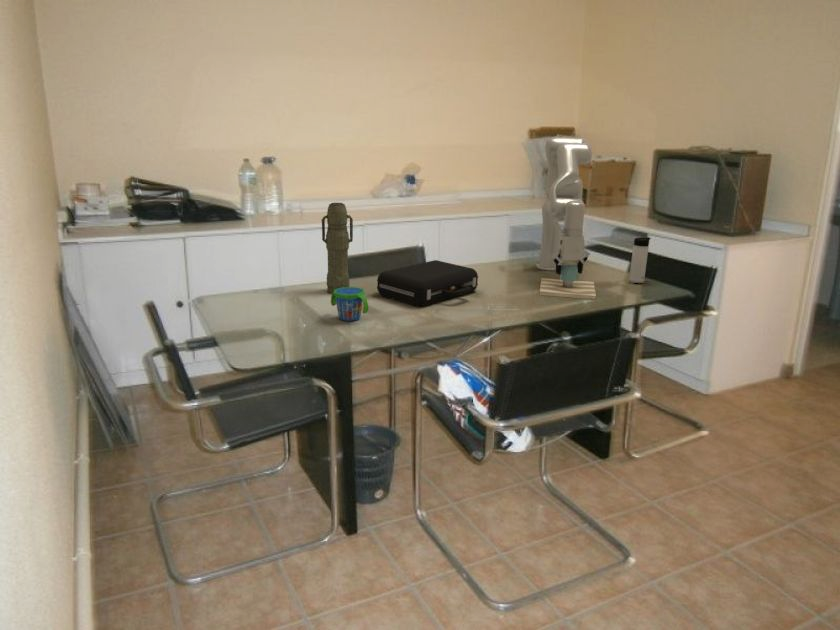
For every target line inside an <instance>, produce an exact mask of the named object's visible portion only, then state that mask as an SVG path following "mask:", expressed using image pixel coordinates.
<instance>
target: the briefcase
mask: <svg viewBox="0 0 840 630" xmlns="http://www.w3.org/2000/svg"><path fill="white" fill-rule="evenodd" d="M478 275H479V274H478V273H477V270H475V269H474V268H472V267H471V268H470V267H468V266H462V265H459V264H456V263H455V264H454V263H451V262H450V263H449V262H447V261H442V260H436V259H435V260H431V261H424V262H421V263H416V264H411V265H408V266H403V267H400V268H399V267H398V268H395V269H390V270H389V269H388V270H385V271H382V272H381V273H379V274H378V276H377V280H376V282H377V286H376V289H377V293H379V295H380V296H382V297H384V298H388V299H391V300H395V301H399V302H400V303H401V302H402V303H405V304H409V305H412V306H414V307H418V308H419V307H421V308H422V307H425V306H429V305H432V304H435V303H439V302H442V301H446V300H449V299H453V298H456V297H460V296H463V295H466V294H467V295H468V294H469V293H472V292H474V291H475V290H476V289H477V288H478V285H479V284H478V279H479V276H478Z"/></svg>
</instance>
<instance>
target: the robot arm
mask: <svg viewBox="0 0 840 630" xmlns="http://www.w3.org/2000/svg"><path fill="white" fill-rule="evenodd" d="M544 146H545V147H544V148H545V149H544V151H545V157H546V160H547V161H546V162H547V165H548V166H547V167H548V168H547V180H546V181H547V183H546V193H547V195H548V200H547V201H545V202H544V203H543V204H542V207H541V216H542V230H541V243H540V254H539V255H540V256H539V262H538V263H536V264H535V267H536V268H537V269H539V270H543V271H551V272H552V271H553V272H554V271H555V273H556V275H559V276H560V275H561V269H562V263H563V262H574V261H578V262H577V264H576V265H577V266H578V273H579V274H583V270H584V265H585V263H586V262H587V261H588V258H590V257H589V256H590V255H591V252H590V251H587V250H586V249H585V247H586V246H585V245H586V244H585V236H584V235H583V228H584V221H585V220H584V218H585V209H586V205H585V203H584V201H583V190H584V189H583V187H584V185H583V181H582V179H581V178H580V170H579V165H588V164H590V162H591V161H592V158H593V152H592V151H593V150H592V147H591V145H590V143H589V142H588V140H587V139H585V138H583V137H568V136H567V137H566V136H564V137H561V136H557V137H556V136H555V137H550V138H548V139H547V140H546V141H545V145H544ZM560 222H563V227H562V226H561V225H560V224H559V223H560Z"/></svg>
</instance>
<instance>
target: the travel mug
mask: <svg viewBox="0 0 840 630" xmlns="http://www.w3.org/2000/svg"><path fill="white" fill-rule="evenodd" d="M650 240H651V237H650V236H648V237H646V236H644V237H641V236H640V237H635V238H634V240H633V248H632V254H631V262H630V263H631V264H630V270H629V278H628V282H629V281H630V282H632V283H631V284H633V283H643V284H645V277H646V276H645V275H646V270H647V261H648V254H649V247H650V246H649V244H650ZM630 282H629V283H630Z"/></svg>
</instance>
